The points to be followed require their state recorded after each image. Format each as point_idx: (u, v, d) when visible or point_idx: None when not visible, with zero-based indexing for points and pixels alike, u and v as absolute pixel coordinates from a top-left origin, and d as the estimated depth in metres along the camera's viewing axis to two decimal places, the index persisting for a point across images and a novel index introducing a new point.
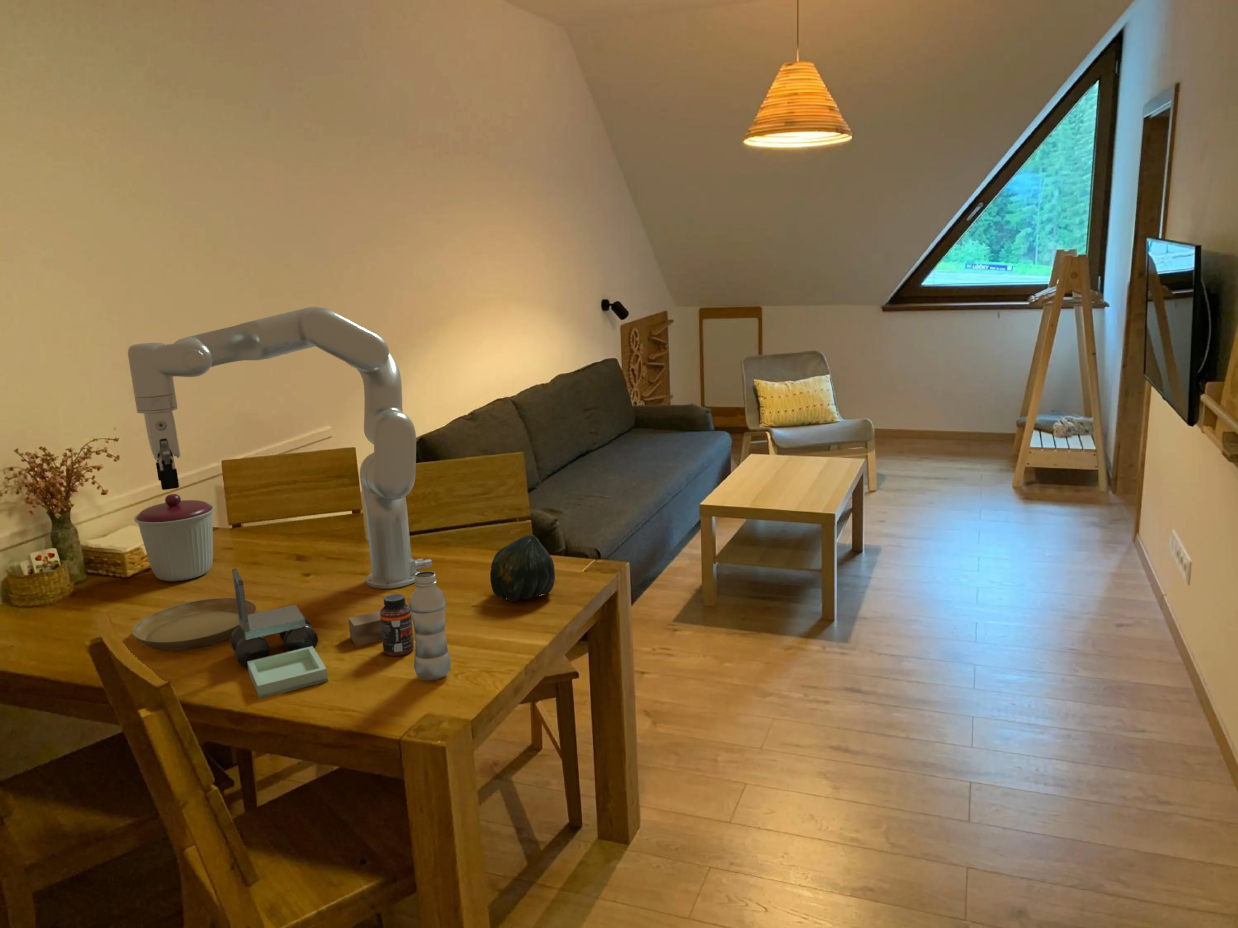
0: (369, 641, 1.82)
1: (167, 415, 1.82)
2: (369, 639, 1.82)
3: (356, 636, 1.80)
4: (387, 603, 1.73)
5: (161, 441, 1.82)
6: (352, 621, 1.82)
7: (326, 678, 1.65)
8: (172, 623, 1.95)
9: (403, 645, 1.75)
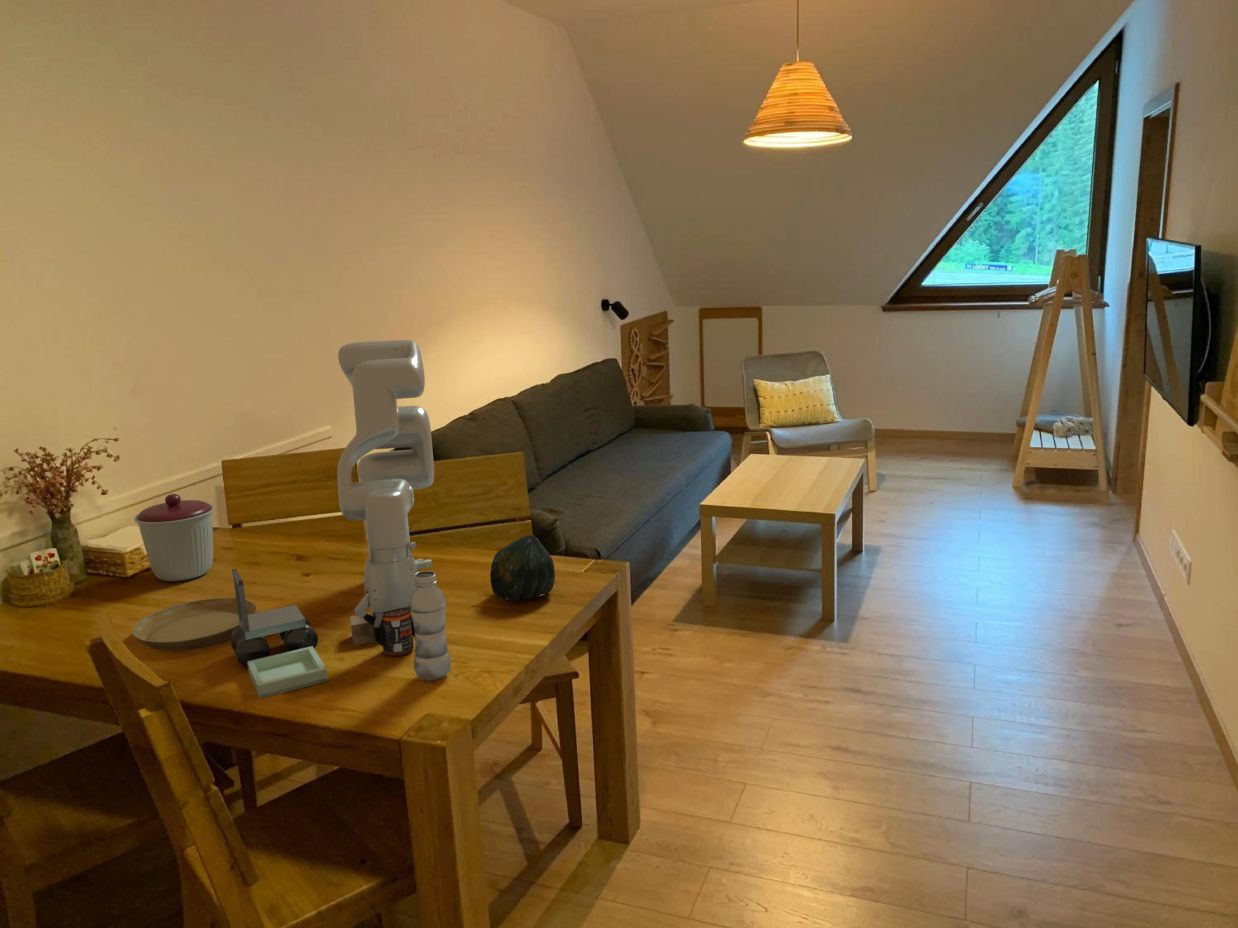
0: (367, 641, 1.82)
1: None
2: (367, 639, 1.82)
3: (353, 635, 1.80)
4: None
5: None
6: (352, 620, 1.82)
7: (326, 678, 1.65)
8: (172, 623, 1.95)
9: (403, 645, 1.75)
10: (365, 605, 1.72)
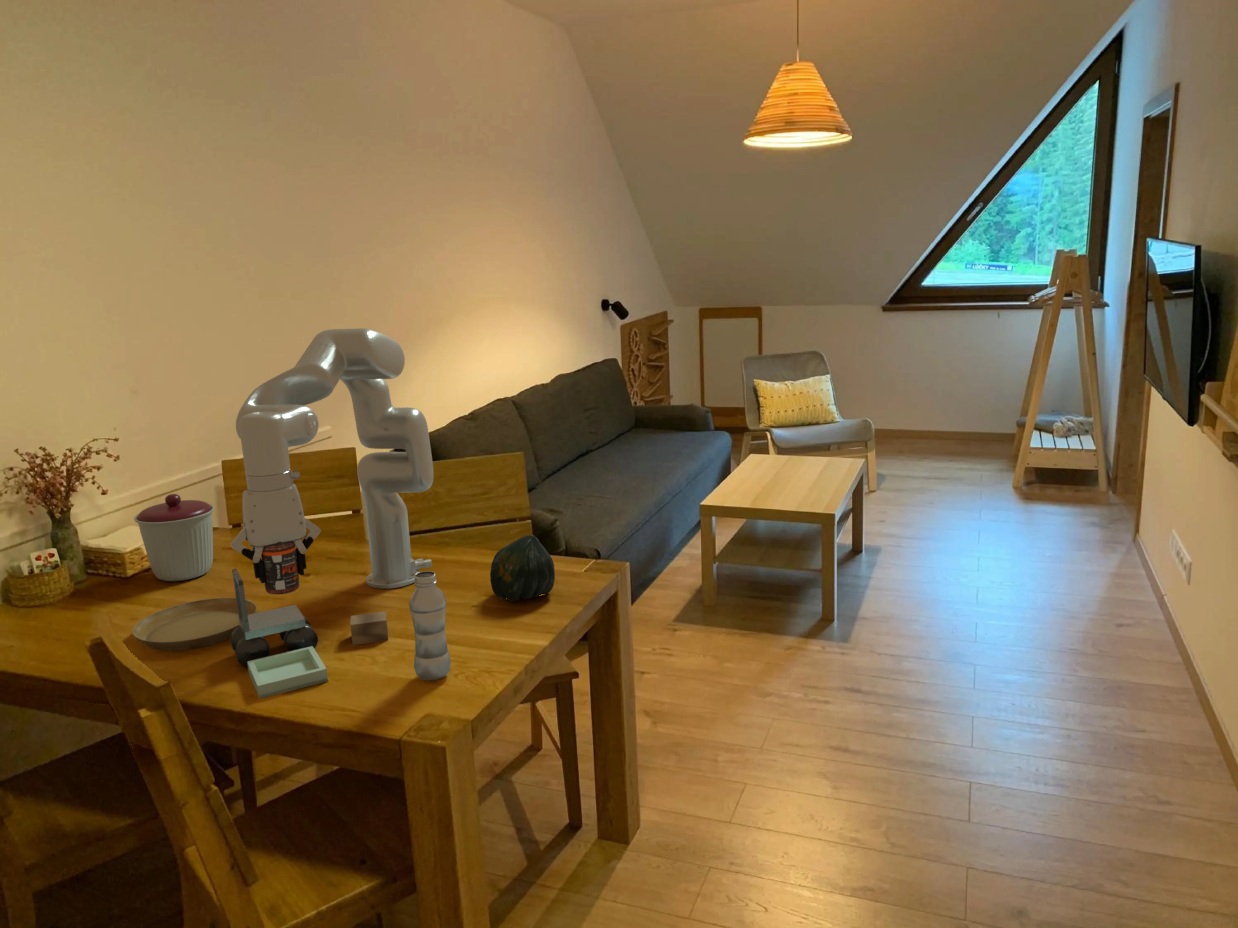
0: (366, 641, 1.82)
1: None
2: (366, 639, 1.82)
3: (352, 635, 1.81)
4: None
5: None
6: (352, 620, 1.83)
7: (326, 678, 1.65)
8: (172, 623, 1.95)
9: (286, 583, 1.61)
10: (242, 538, 1.59)
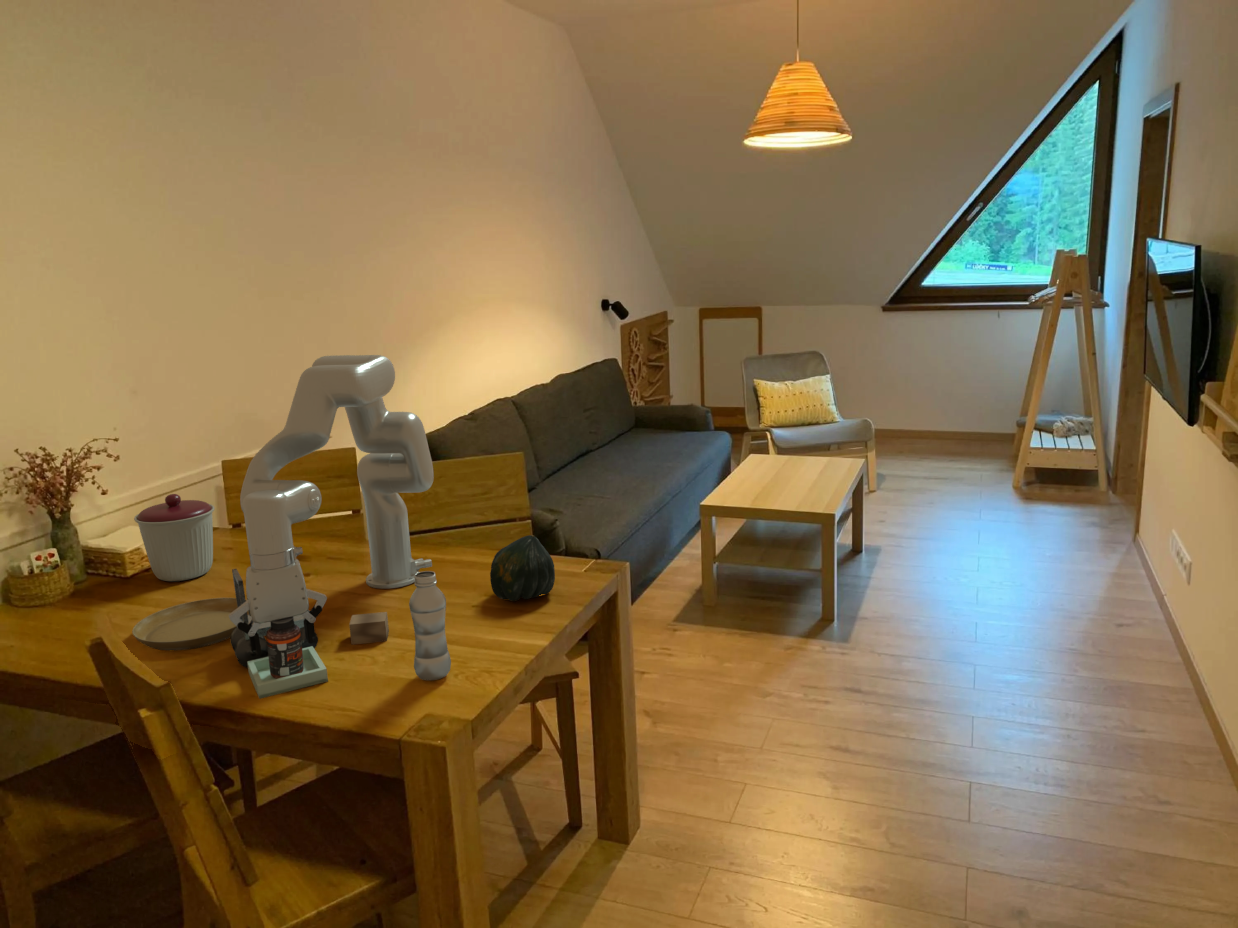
0: (364, 641, 1.82)
1: None
2: (365, 639, 1.82)
3: (351, 635, 1.81)
4: (273, 625, 1.63)
5: (307, 590, 1.66)
6: (352, 619, 1.83)
7: (326, 678, 1.65)
8: (172, 623, 1.95)
9: (290, 669, 1.65)
10: (242, 612, 1.61)
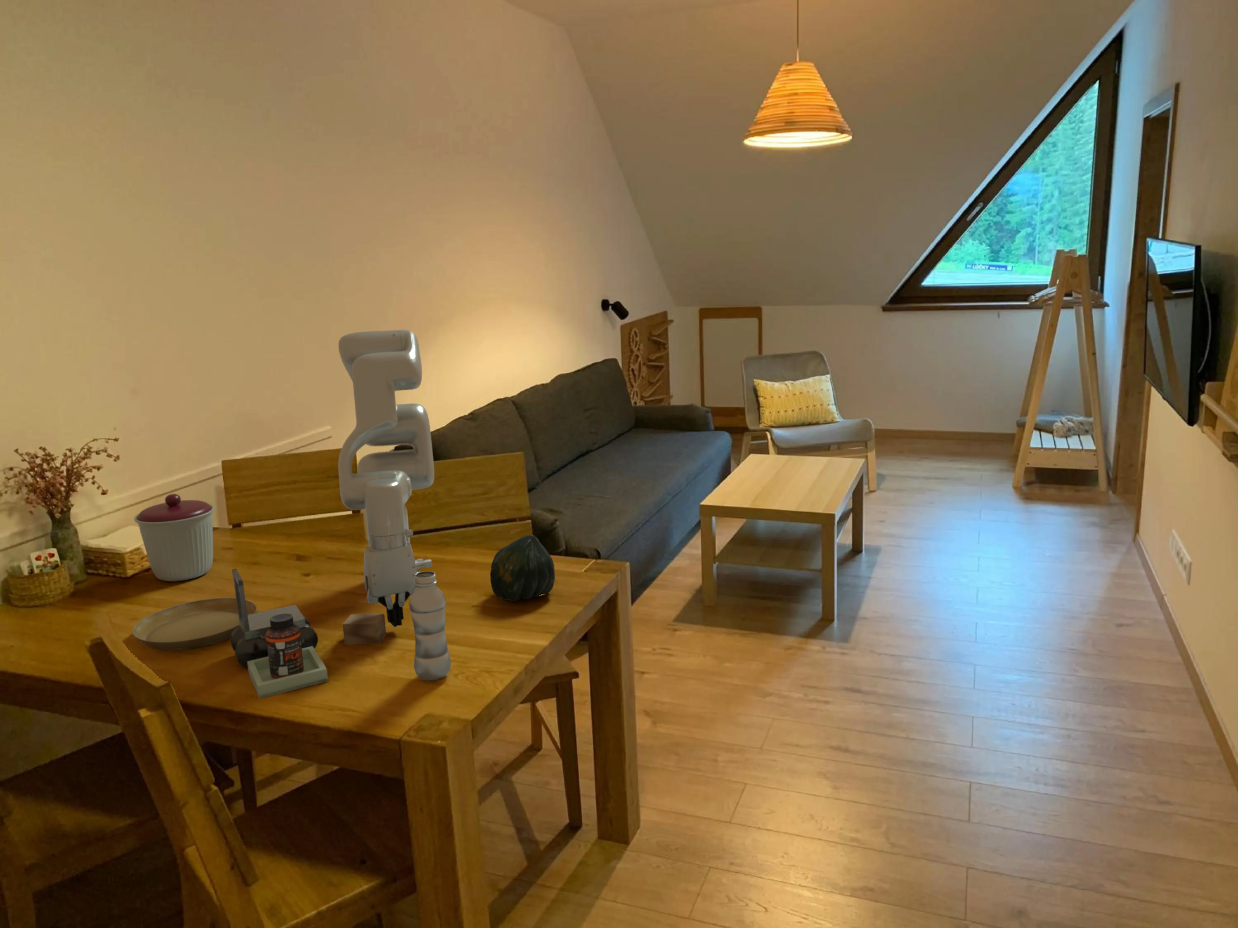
0: (357, 642, 1.81)
1: None
2: (357, 640, 1.81)
3: (344, 634, 1.81)
4: (272, 624, 1.64)
5: None
6: (348, 619, 1.83)
7: (326, 678, 1.65)
8: (172, 623, 1.95)
9: (288, 669, 1.65)
10: None
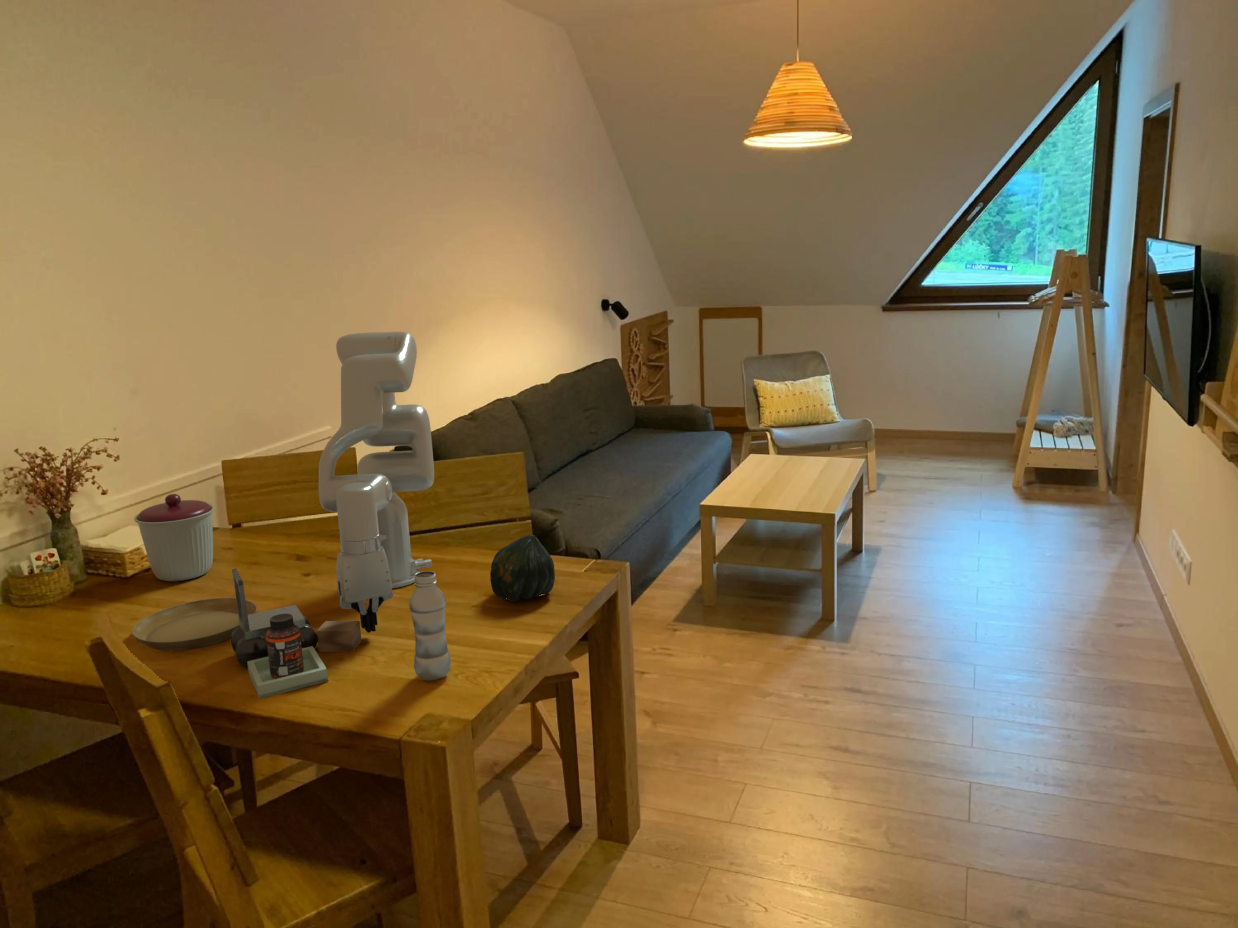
0: (331, 649, 1.78)
1: None
2: (332, 647, 1.78)
3: (318, 642, 1.78)
4: (272, 624, 1.64)
5: None
6: (322, 625, 1.80)
7: (326, 678, 1.65)
8: (172, 623, 1.95)
9: (288, 669, 1.65)
10: None
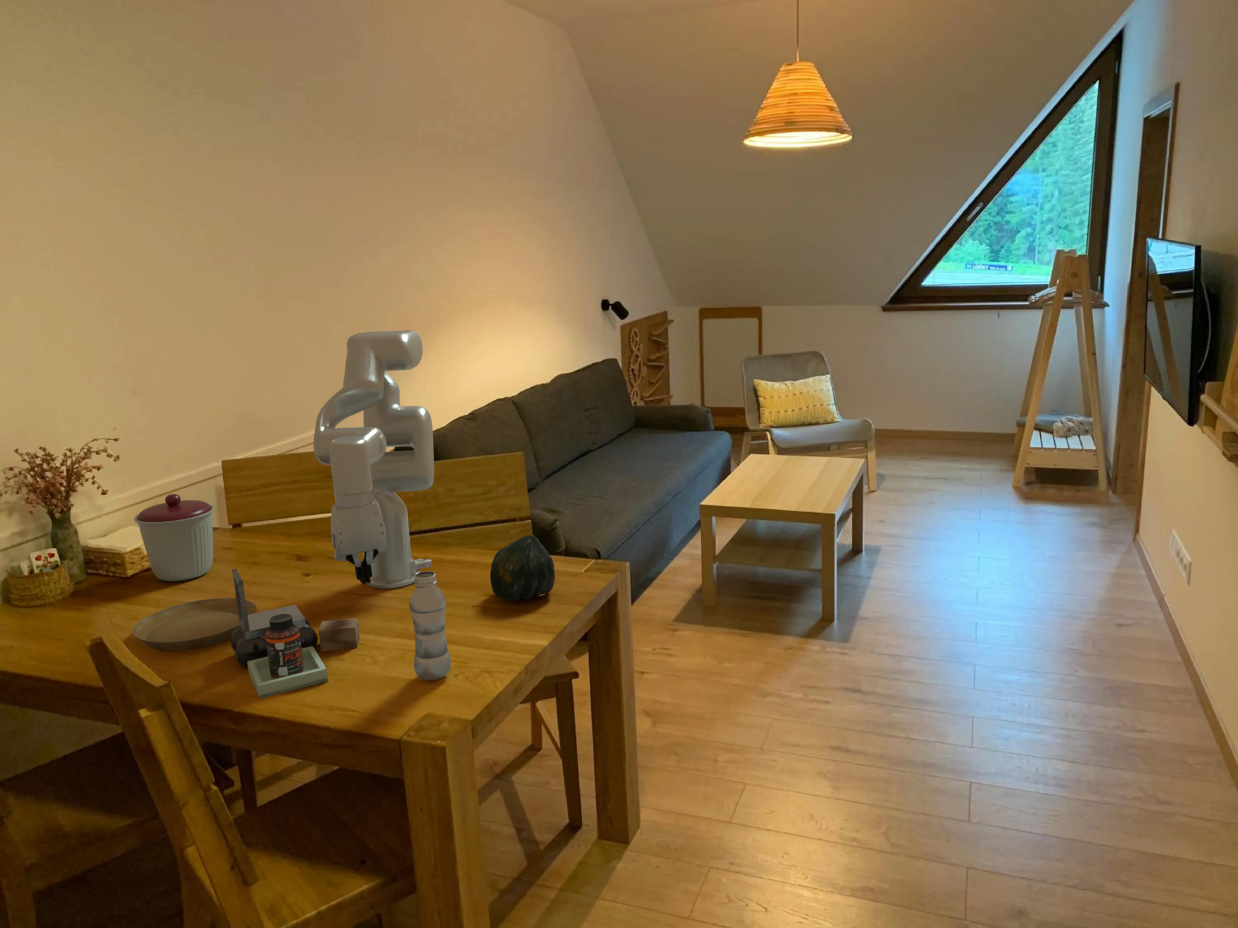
0: (334, 648, 1.79)
1: None
2: (335, 646, 1.79)
3: (320, 641, 1.78)
4: (271, 624, 1.64)
5: None
6: (321, 625, 1.80)
7: (326, 678, 1.65)
8: (172, 623, 1.95)
9: (288, 669, 1.65)
10: None
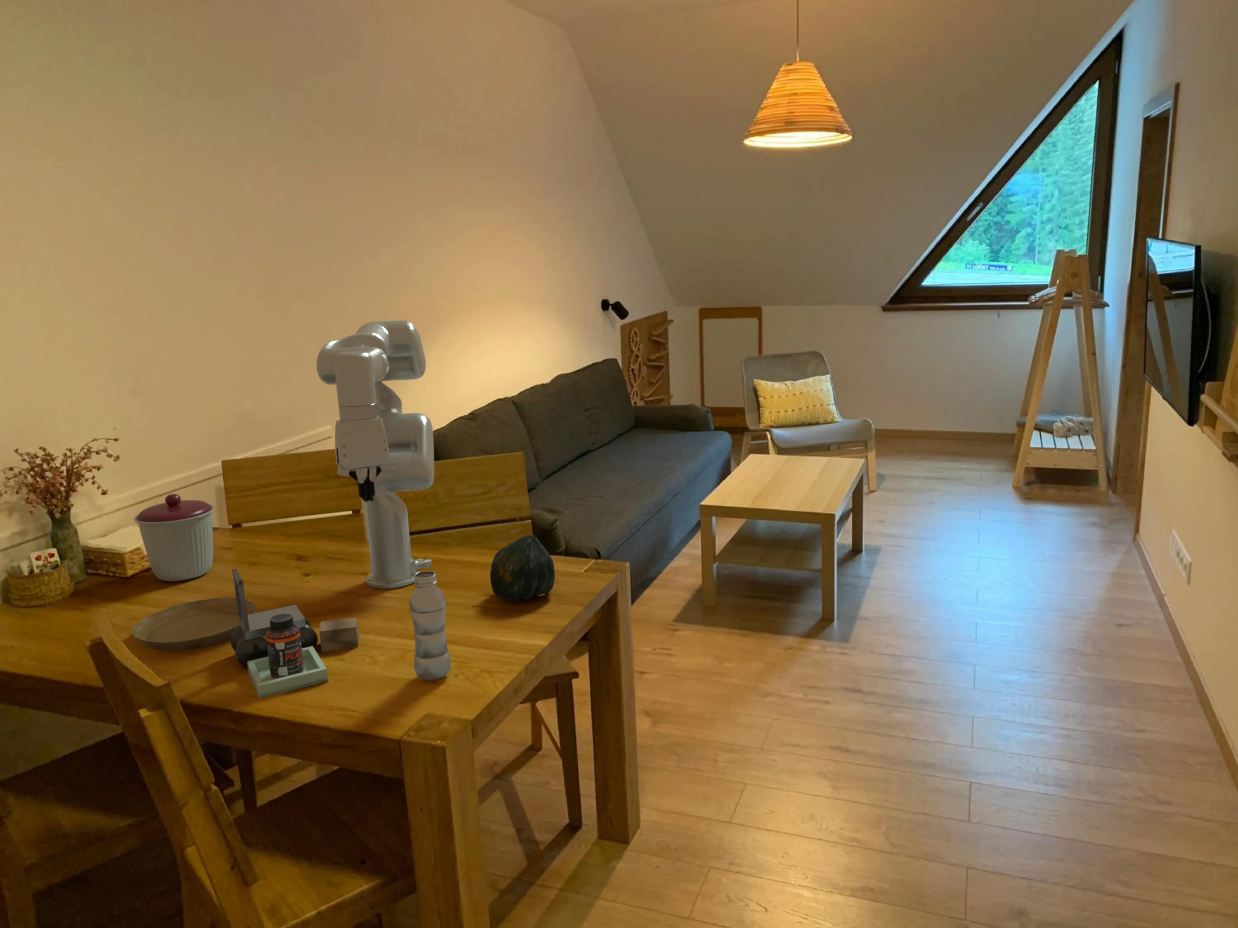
0: (335, 648, 1.79)
1: None
2: (335, 646, 1.79)
3: (321, 642, 1.78)
4: (272, 624, 1.64)
5: None
6: (321, 626, 1.80)
7: (326, 678, 1.65)
8: (172, 623, 1.95)
9: (288, 669, 1.65)
10: None
